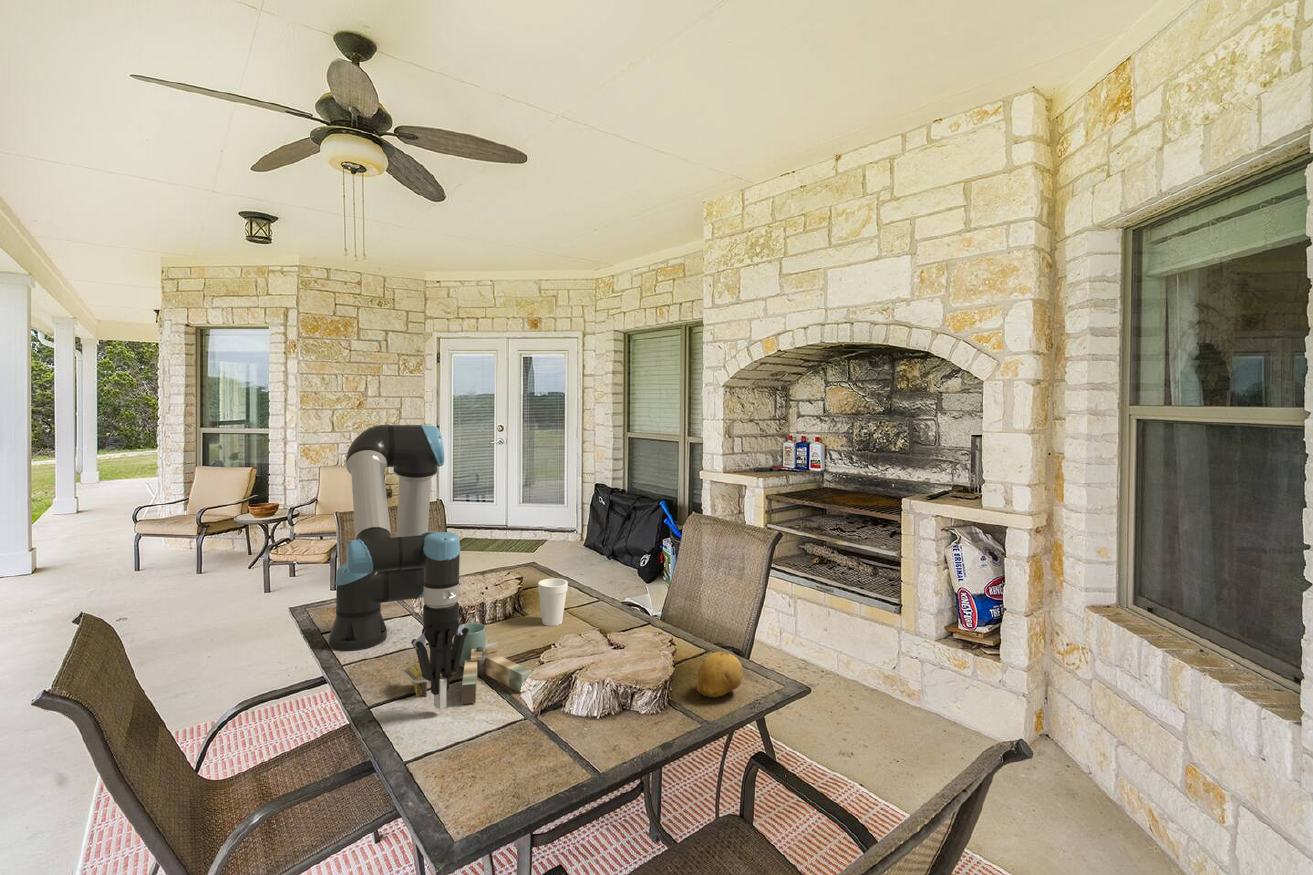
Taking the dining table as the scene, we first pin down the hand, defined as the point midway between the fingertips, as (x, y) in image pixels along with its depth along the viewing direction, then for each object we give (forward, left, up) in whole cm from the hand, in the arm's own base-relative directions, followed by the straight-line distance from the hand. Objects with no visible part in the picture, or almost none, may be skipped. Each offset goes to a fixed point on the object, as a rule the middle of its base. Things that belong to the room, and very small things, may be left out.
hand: (440, 706), depth 136 cm
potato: (+40, +52, -2) cm, 66 cm away
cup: (-18, +19, -2) cm, 26 cm away
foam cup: (-27, +55, -2) cm, 61 cm away
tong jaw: (-6, +12, -1) cm, 14 cm away
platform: (-13, +2, -2) cm, 14 cm away
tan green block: (-4, +19, -2) cm, 19 cm away
